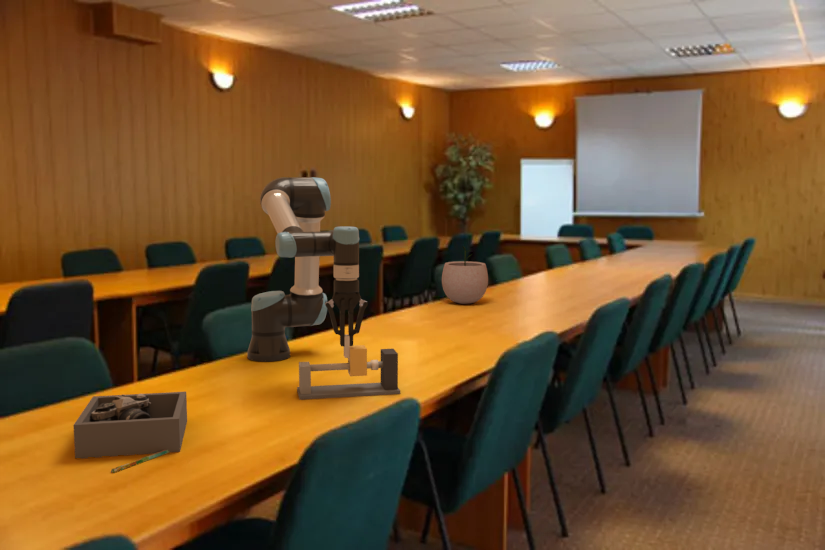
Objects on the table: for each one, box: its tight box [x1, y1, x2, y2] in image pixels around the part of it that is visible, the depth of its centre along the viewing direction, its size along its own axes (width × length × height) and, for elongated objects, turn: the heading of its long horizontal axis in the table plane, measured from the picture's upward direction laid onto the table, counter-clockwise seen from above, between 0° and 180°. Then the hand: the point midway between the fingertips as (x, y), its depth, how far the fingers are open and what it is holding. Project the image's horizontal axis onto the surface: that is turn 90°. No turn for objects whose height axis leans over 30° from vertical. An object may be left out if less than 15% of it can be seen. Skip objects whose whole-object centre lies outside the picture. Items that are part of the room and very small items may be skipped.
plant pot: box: [441, 245, 489, 305], centre depth 387 cm, size 24×24×30 cm
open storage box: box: [72, 391, 188, 459], centre depth 185 cm, size 23×23×8 cm
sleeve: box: [347, 344, 368, 377], centre depth 226 cm, size 5×5×8 cm
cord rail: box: [296, 348, 401, 400], centre depth 226 cm, size 30×10×12 cm, turn 103°
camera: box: [91, 393, 151, 422], centre depth 186 cm, size 16×10×10 cm, turn 146°
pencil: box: [110, 450, 171, 474], centre depth 171 cm, size 1×1×18 cm
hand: (346, 356), depth 225 cm, fingers closed
